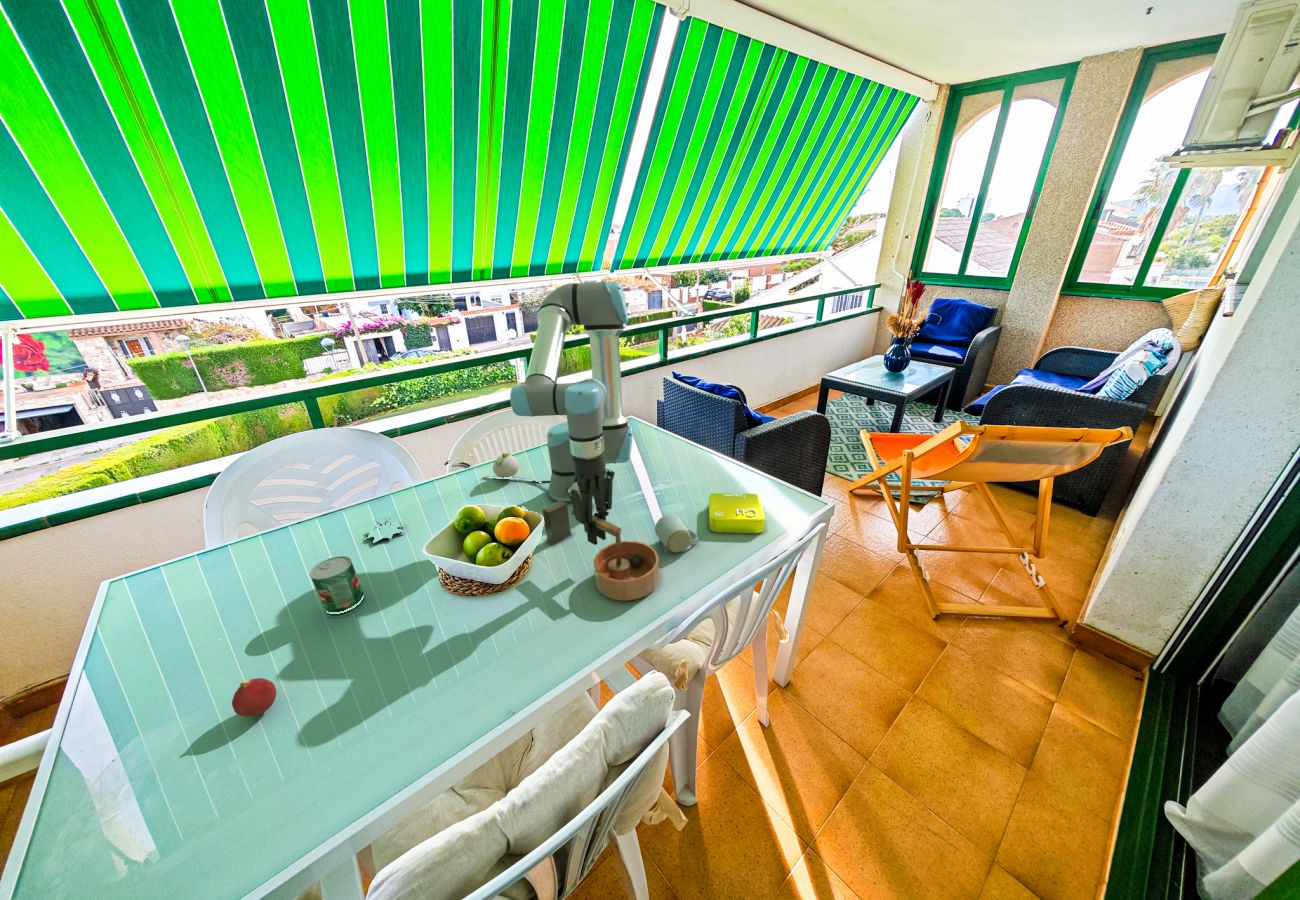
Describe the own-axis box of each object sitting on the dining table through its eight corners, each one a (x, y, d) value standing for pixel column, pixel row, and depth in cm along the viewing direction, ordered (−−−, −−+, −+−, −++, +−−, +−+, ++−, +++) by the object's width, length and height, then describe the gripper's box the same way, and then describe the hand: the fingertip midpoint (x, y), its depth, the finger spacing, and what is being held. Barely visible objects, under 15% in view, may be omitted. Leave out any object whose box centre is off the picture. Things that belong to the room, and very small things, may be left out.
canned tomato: (373, 597, 108) (359, 559, 103) (343, 621, 101) (327, 581, 97) (348, 590, 110) (334, 553, 106) (317, 613, 104) (300, 574, 99)
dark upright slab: (547, 540, 126) (542, 508, 122) (564, 531, 130) (560, 499, 126) (553, 545, 124) (548, 512, 120) (571, 535, 128) (567, 503, 124)
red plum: (257, 698, 84) (239, 667, 81) (290, 695, 85) (273, 664, 81) (234, 729, 79) (214, 697, 76) (269, 725, 79) (250, 693, 76)
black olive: (627, 563, 114) (630, 553, 114) (639, 564, 115) (641, 554, 114) (630, 570, 112) (632, 559, 111) (641, 571, 112) (644, 560, 112)
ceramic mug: (667, 558, 117) (667, 532, 114) (654, 540, 124) (654, 516, 121) (703, 547, 121) (704, 522, 118) (689, 531, 128) (689, 507, 125)
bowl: (582, 582, 110) (580, 562, 108) (627, 552, 120) (626, 533, 118) (627, 612, 100) (625, 591, 98) (672, 577, 110) (671, 557, 108)
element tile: (758, 505, 139) (759, 491, 137) (764, 534, 125) (765, 519, 123) (708, 504, 140) (708, 491, 138) (709, 532, 127) (709, 518, 125)
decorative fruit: (516, 485, 157) (511, 459, 152) (492, 486, 157) (487, 459, 153) (523, 472, 165) (519, 447, 161) (501, 473, 165) (496, 448, 161)
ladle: (568, 551, 118) (566, 511, 114) (583, 544, 121) (581, 504, 117) (618, 581, 106) (617, 537, 102) (633, 572, 110) (633, 529, 105)
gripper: (572, 469, 96) (583, 560, 106) (623, 446, 106) (629, 531, 116) (550, 460, 101) (562, 548, 110) (601, 438, 111) (609, 521, 120)
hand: (596, 539), depth 113 cm, fingers closed on ladle, 2 cm apart
